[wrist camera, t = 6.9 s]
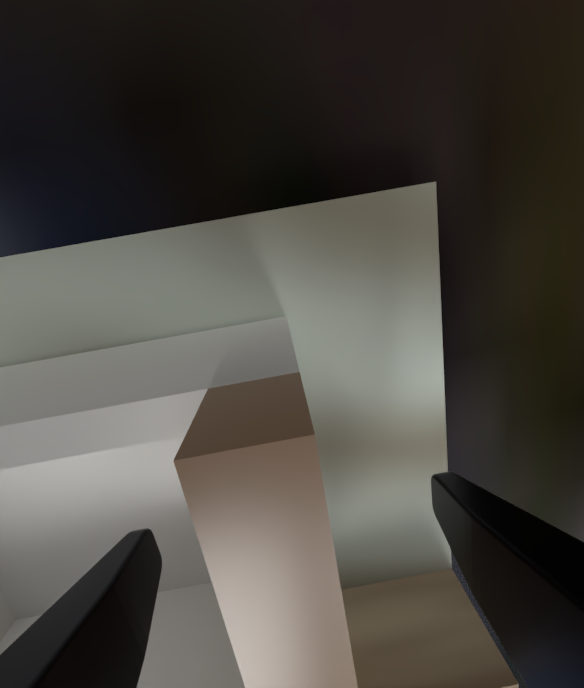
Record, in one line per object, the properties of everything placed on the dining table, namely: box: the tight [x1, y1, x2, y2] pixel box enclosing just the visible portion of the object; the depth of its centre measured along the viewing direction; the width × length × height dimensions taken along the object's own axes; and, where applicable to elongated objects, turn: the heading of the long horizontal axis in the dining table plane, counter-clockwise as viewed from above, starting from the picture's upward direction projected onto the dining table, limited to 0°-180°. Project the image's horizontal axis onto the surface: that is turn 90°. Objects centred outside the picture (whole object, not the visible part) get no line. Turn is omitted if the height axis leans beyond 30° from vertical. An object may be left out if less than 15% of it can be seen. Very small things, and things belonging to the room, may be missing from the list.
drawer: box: [0, 316, 358, 688], centre depth 6 cm, size 8×10×6 cm
